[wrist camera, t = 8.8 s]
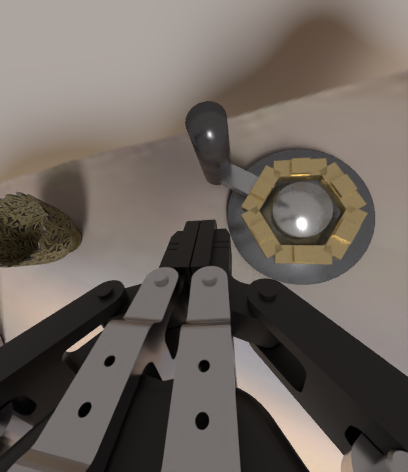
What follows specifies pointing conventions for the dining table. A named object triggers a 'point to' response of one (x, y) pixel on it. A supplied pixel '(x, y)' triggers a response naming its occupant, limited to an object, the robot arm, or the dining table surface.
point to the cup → (34, 232)
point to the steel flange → (300, 222)
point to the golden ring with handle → (258, 188)
